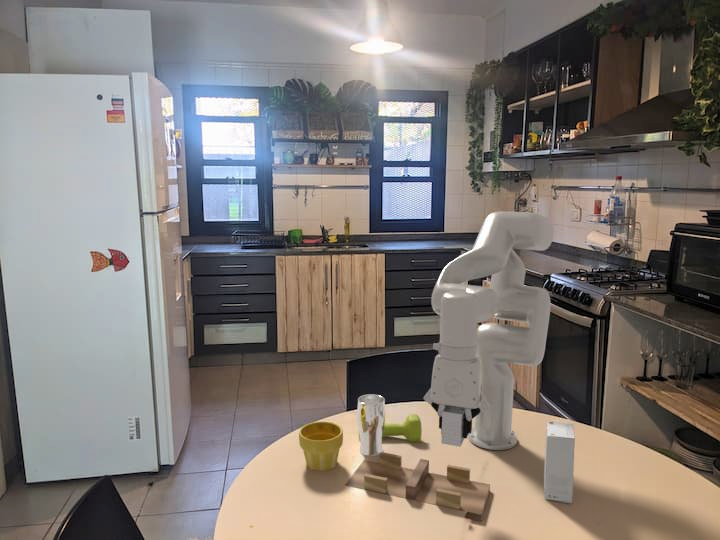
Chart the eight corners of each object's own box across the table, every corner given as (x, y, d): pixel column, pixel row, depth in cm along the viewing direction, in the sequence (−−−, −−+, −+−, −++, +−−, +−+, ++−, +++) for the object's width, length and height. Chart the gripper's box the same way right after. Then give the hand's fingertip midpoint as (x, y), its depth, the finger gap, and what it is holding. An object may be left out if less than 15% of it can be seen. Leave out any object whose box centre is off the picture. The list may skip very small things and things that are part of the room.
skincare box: (572, 504, 120) (577, 439, 118) (542, 499, 122) (546, 435, 119) (570, 484, 128) (574, 423, 126) (542, 479, 130) (546, 419, 127)
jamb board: (363, 465, 136) (364, 448, 135) (489, 490, 125) (490, 472, 125) (344, 491, 125) (344, 472, 124) (481, 521, 114) (481, 501, 114)
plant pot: (302, 482, 129) (301, 442, 127) (297, 460, 139) (296, 422, 137) (346, 477, 131) (346, 438, 129) (339, 456, 141) (338, 419, 139)
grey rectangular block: (449, 427, 124) (450, 397, 123) (467, 430, 123) (468, 400, 122) (441, 443, 117) (442, 411, 116) (460, 446, 115) (461, 414, 114)
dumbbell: (358, 449, 144) (358, 423, 143) (358, 435, 152) (358, 410, 151) (422, 449, 144) (423, 423, 143) (419, 435, 152) (419, 410, 151)
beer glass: (382, 464, 137) (383, 406, 134) (354, 461, 138) (354, 403, 135) (386, 450, 143) (387, 395, 141) (360, 448, 145) (360, 392, 142)
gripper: (413, 351, 116) (412, 434, 119) (496, 361, 110) (492, 448, 113) (423, 341, 123) (421, 420, 126) (501, 350, 117) (497, 432, 120)
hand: (455, 432), depth 120 cm, fingers closed on grey rectangular block, 4 cm apart
